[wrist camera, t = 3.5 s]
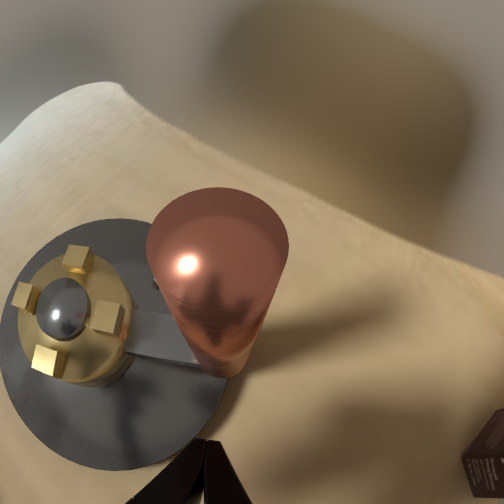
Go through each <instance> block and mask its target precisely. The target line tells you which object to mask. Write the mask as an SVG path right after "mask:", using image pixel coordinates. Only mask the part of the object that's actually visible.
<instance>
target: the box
mask: <svg viewBox="0 0 504 504" xmlns="http://www.w3.org/2000/svg"><path fill="white" fill-rule="evenodd" d="M462 459H463V463H464V466H465V470H466V473H467V477H468V480H469V483H470V486H471V489H472V492H473V496H474V497H477V498H504V409H500V410H497V411H496V412H495V414H494V415H493V417H492V418H491V419H490V421H489V422H488V424H487V425H486V426H485V428H484V429H483V430H482V432H481V433H480V434H479V435H478V437H477V438H476V439H475V441H474V442H473V443H472V444H471V445H470V446H469V448H468V449H467V450H466V451H465V452H464V454H463V455H462Z"/></svg>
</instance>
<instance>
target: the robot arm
mask: <svg viewBox="0 0 504 504" xmlns="http://www.w3.org/2000/svg"><path fill="white" fill-rule="evenodd" d="M203 489H204V504H252V502H251V500H250V498H249V497H248V495H247V493H246V491H245V489H244V488H243V486H242V484H241V482H240V480H239V478H238V476H237V474H236V472H235V470H234V468H233V467H232V465H231V463H230V461H229V458H228V456H227V454H226V452H225V450H224V448H223V446H222V444H221V442H220V441H214V440H208V441H207V440H205V439H198V438H195V439H194V440H192V441H191V442H190V444H189V445H188V446H187V447H186V448H185V449H184V450H183V451H182V452H181V453H180V454H179V455H178V456H177V457H176V458H175V459H174V460H173V461H172V462H171V463H170V464H168V465H167V466H166V467H165V468H164V469H163V470H162V471H161V472H160V473H159V474H158V475H157V476H156V477H155V478H154V479H153V480H152V481H151V482H149V483H148V484H147V485H146V486H145V487H144V488H143V489H142V490H141V491H139V492H138V493H137V494H136V495H135V496H134V497H133V498H134V499H133V498H131V499H130V500H129V501H128V502H126V503H125V504H200V502H201V499H202V495H203Z"/></svg>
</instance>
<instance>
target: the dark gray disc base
mask: <svg viewBox="0 0 504 504" xmlns="http://www.w3.org/2000/svg"><path fill="white" fill-rule="evenodd" d="M151 225H152V224H150V223H147V222H143V221H138V220H132V219H105V220H98V221H93V222H90V223H86V224H82V225H80V226H77V227H75V228H72V229H70V230H68V231H66V232H64V233H63V234H61V235H59V236H57V237H56V238H54V239H53V240H52V241H50V242H49V243H47V244H46V245H45V246H44V247H43V248H42V249H40V250H39V251H38V252H37V253H36V254H35V255H34V256H33V257H32V258H31V260H30V261H29V262H28V263H27V264H26V266H25V267H24V268H23V270H22V271H21V272H20V274H19V276H18V277H17V279H16V281H15V283H14V284H13V286H12V288H11V291H10V293H9V295H8V297H7V300H6V303H5V306H4V310H3V314H2V318H1V323H0V367H1V372H2V376H3V380H4V384H5V387H6V389H7V392H8V395H9V397H10V400H11V402H12V404H13V405H14V407H15V409H16V411H17V413H18V414H19V416H20V417H21V419H22V420H23V422H24V423H25V425H26V426H27V427H28V428H29V429H30V431H31V432H32V433H33V434H34V435H35V436H36V437H37V438H38V439H39V440H40V441H41V442H43V443H44V444H45V445H46V446H47V447H48V448H50V449H51V450H53V451H54V452H56V453H57V454H59V455H61V456H62V457H64V458H66V459H68V460H70V461H73V462H75V463H77V464H79V465H83V466H86V467H90V468H94V469H100V470H109V471H121V470H133V469H137V468H141V467H146V466H149V465H152V464H154V463H156V462H159V461H161V460H163V459H166V458H167V457H169V456H170V455H172V454H174V453H175V452H177V451H178V450H180V449H181V448H183V447H184V446H185V445H186V444H187V443H188V442H189V441H191V440H192V439H193V438H194V437H195V436H196V435H197V434H198V433H199V432H200V431H201V429H202V428H203V427H204V426H205V424H206V423H207V422H208V421H209V419H210V417H211V416H212V414H213V412H214V410H215V409H216V407H217V405H218V403H219V401H220V398H221V396H222V393H223V391H224V388H225V385H226V381H227V378H215V377H212V376H210V375H208V374H207V373H205V372H204V371H203V370H202V369H201V368H198V367H190V366H184V365H177V364H171V363H165V362H159V361H154V360H148V359H143V358H138V357H136V359H135V360H134V362H133V364H132V365H131V367H130V368H129V369H128V371H127V372H126V373H125V374H124V375H123V376H121V377H120V378H119V379H118V380H116V381H114V382H112V383H111V384H108V385H106V386H102V387H96V388H87V387H81V386H78V385H74V384H71V383H68V382H64V381H61V380H58V379H55V378H52V377H49V376H47V375H45V374H43V373H42V372H41V371H39V370H36V369H34V368H32V367H31V366H32V363H31V362H30V360H29V359H28V358H27V356H26V354H25V352H24V350H23V348H22V345H21V342H20V338H19V333H18V312H19V310H18V309H16V308H15V307H14V306H12V305H11V303H12V300H13V297H14V294H15V291H16V289H17V286H18V283H19V282H23V283H27V284H29V282H30V281H31V279H32V278H33V276H34V275H35V274H36V273H37V272H38V271H39V270H40V269H41V268H42V267H43V266H44V265H45V264H47V263H48V262H50V261H51V260H53V259H55V258H57V257H59V256H61V255H64V254H66V251H67V249H68V246H69V245H77V246H85V247H90V249H91V250H92V252H93V253H94V255H97V256H99V257H101V258H102V259H104V260H105V261H107V262H108V263H109V264H110V265H111V266H112V267H113V268H114V270H115V271H116V272H117V274H118V275H119V277H120V278H121V280H122V281H123V283H124V285H125V286H126V287H127V289H128V290H129V292H130V293H131V295H132V296H133V298H134V299H135V301H136V303H137V305H138V308H139V310H143V311H149V312H155V313H162V314H169V315H172V313H171V311H170V309H169V307H168V305H167V303H166V301H165V299H164V297H163V295H162V293H161V291H160V288H159V286H158V284H157V282H156V280H155V277H154V275H153V273H152V271H151V268H150V266H149V263H148V259H147V255H146V242H147V236H148V232H149V230H150V227H151Z"/></svg>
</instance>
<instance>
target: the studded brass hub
mask: <svg viewBox="0 0 504 504" xmlns="http://www.w3.org/2000/svg"><path fill="white" fill-rule="evenodd" d="M288 250H289V243H288V236H287V232H286V229H285V227H284V224H283V222H282V221H281V219H280V217H279V216H278V215H277V213H276V212H275V211H274V210H273V209H272V208H271V207H270V206H269V205H268V204H266V203H265V202H264V201H262V200H261V199H259V198H257V197H256V196H253V195H251V194H249V193H246V192H243V191H240V190H236V189H231V188H219V187H217V188H205V189H200V190H196V191H192V192H189V193H187V194H184V195H182V196H180V197H178V198H177V199H175V200H173V201H172V202H171V203H169V204H168V205H167V206H166V207H165V208H164V209H163V210H162V211H161V212H160V213H159V214H158V215H157V217H156V218H155V220H154V221H153V223H152V225H151V227H150V230H149V232H148V236H147V242H146V255H147V259H148V263H149V266H150V268H151V271H152V273H153V275H154V277H155V280H156V282H157V284H158V286H159V288H160V291H161V293H162V295H163V297H164V299H165V301H166V303H167V305H168V307H169V309H170V311H171V313H172V315H169V314H162V313H155V312H149V311H143V310H139V308H138V305H137V303H136V301H135V299H134V298H133V296H132V295H131V293H130V292H129V290H128V289H127V287H126V286H125V285H124V283H123V281H122V280H121V278H120V277H119V275H118V274H117V272H116V271H115V270H114V268H113V267H112V266H111V265H110V264H109V263H108V262H107V261H105V260H104V259H102V258H101V257H99V256H97V255H94V253H93V252H92V250H91V249H90V247H85V246H77V245H69V246H68V249H67V251H66V254H64V255H61V256H59V257H57V258H55V259H53V260H51V261H50V262H48V263H47V264H45V265H44V266H43V267H42V268H41V269H40V270H39V271H38V272H37V273H36V274H35V275H34V276H33V278H32V279H31V281H30V282H29V284H27V283H23V282H19V283H18V286H17V289H16V291H15V294H14V297H13V300H12V303H11V305H12V306H14V307H15V308H16V309H18V310H19V312H18V333H19V338H20V342H21V345H22V348H23V350H24V352H25V354H26V356H27V358H28V359H29V360H30V362H31V363H32V366H31V367H32V368H34V369H36V370H39V371H41V372H42V373H43V374H45V375H47V376H49V377H52V378H55V379H58V380H61V381H64V382H68V383H71V384H74V385H78V386H81V387H87V388H96V387H102V386H106V385H108V384H111V383H112V382H114V381H116V380H118V379H119V378H120V377H121V376H123V375H124V374H125V373H126V372H127V371H128V369H129V368H130V367H131V365H132V364H133V362H134V360H135V359H136V357H138V358H143V359H148V360H154V361H159V362H165V363H171V364H177V365H184V366H190V367H198V368H201V369H202V370H203V371H204V372H205V373H207V374H208V375H210V376H212V377H215V378H229V377H232V376H234V375H236V374H238V373H239V372H240V371H241V370H242V369H243V368H244V366H245V364H246V362H247V360H248V357H249V355H250V352H251V350H252V348H253V345H254V343H255V340H256V338H257V335H258V333H259V331H260V328H261V326H262V323H263V321H264V318H265V316H266V313H267V311H268V308H269V306H270V303H271V300H272V298H273V295H274V293H275V290H276V288H277V285H278V282H279V280H280V277H281V275H282V272H283V269H284V267H285V264H286V261H287V257H288Z"/></svg>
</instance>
